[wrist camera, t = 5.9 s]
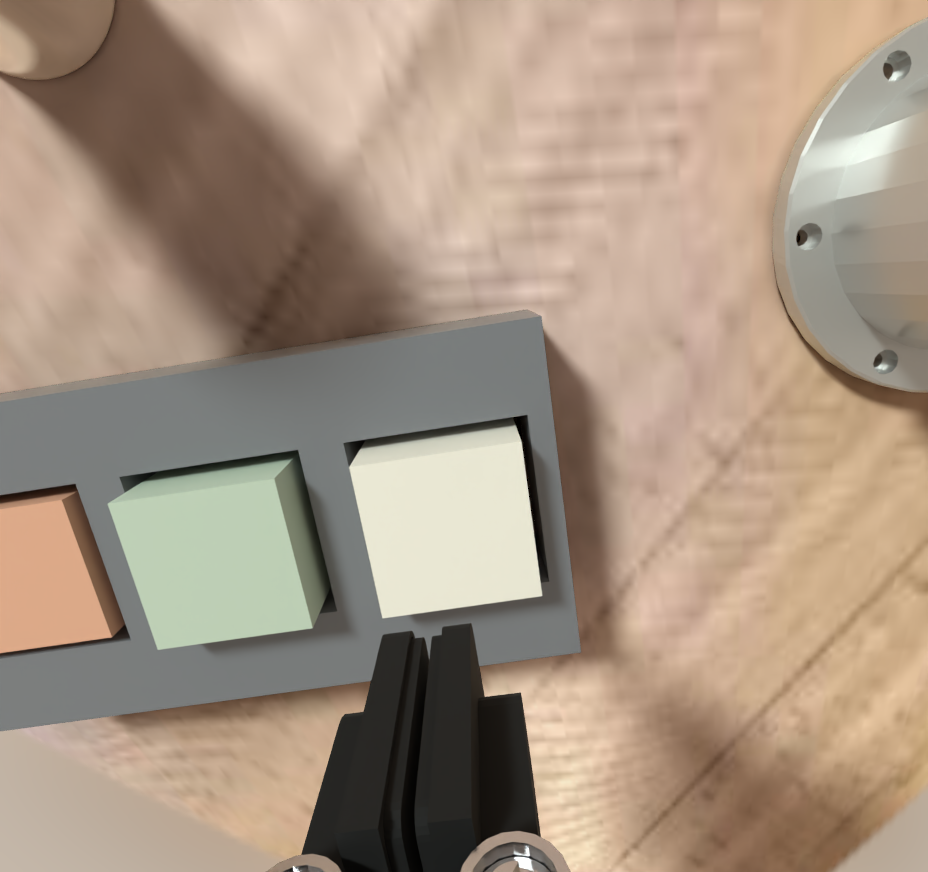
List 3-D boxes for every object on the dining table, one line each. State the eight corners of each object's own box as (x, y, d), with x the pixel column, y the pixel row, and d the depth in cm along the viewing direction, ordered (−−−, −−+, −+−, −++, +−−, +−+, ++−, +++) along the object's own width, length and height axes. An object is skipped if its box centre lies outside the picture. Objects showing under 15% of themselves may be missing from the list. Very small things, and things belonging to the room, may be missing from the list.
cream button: (510, 411, 21) (521, 441, 17) (528, 540, 22) (542, 596, 18) (370, 432, 21) (349, 467, 17) (396, 560, 22) (382, 618, 18)
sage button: (308, 442, 21) (274, 478, 17) (338, 568, 22) (313, 628, 18) (172, 463, 21) (107, 503, 17) (209, 586, 23) (157, 649, 19)
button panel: (527, 309, 21) (541, 316, 17) (562, 593, 24) (581, 652, 20) (-52, 401, 22) (-161, 427, 18) (54, 664, 25) (-20, 734, 21)
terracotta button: (130, 462, 22) (61, 500, 19) (168, 579, 24) (112, 637, 20) (4, 481, 23) (-90, 523, 19) (49, 596, 24) (-30, 657, 20)
